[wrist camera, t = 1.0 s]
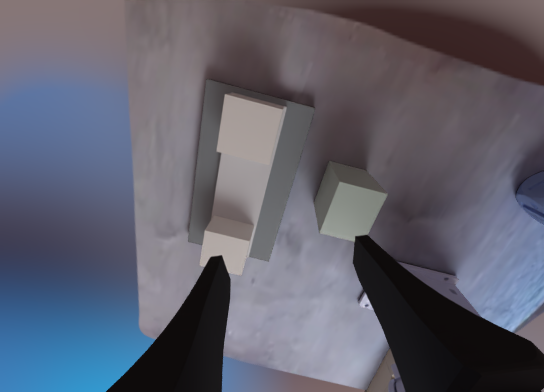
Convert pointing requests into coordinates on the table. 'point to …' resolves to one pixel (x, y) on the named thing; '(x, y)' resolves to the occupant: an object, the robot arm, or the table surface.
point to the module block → (347, 201)
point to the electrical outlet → (383, 375)
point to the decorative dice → (532, 196)
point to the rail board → (244, 172)
